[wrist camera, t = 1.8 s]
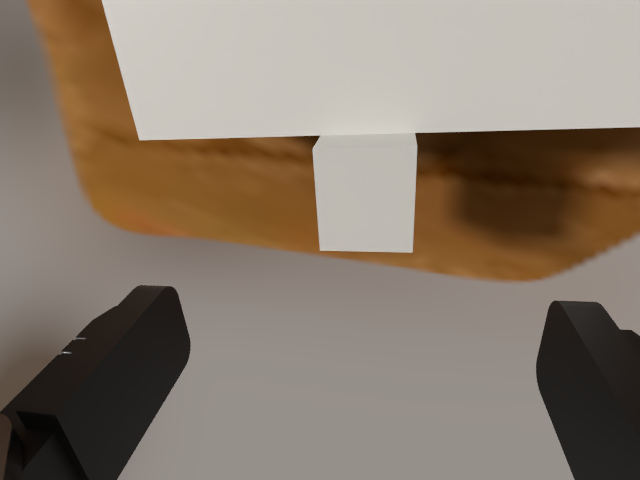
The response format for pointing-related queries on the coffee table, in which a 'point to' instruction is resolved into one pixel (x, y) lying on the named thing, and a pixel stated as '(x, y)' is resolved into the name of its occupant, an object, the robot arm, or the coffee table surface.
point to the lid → (374, 84)
